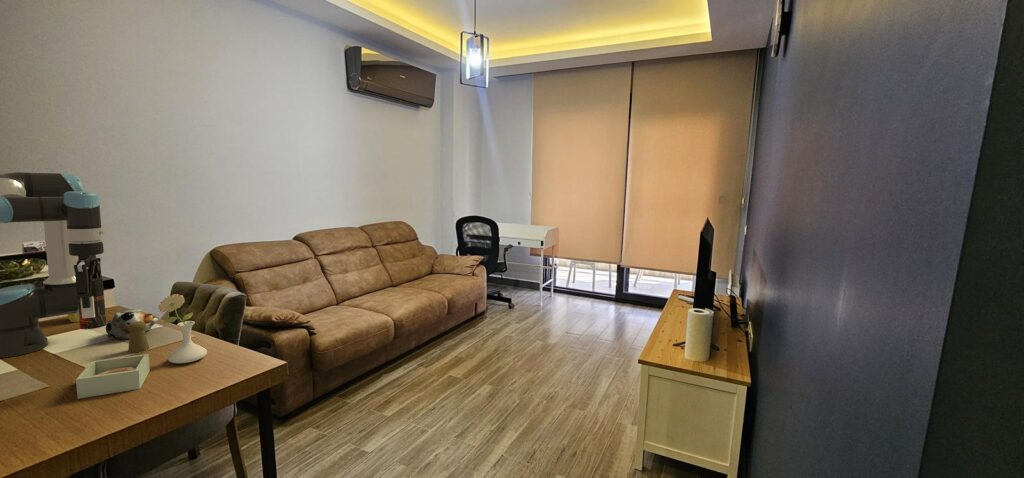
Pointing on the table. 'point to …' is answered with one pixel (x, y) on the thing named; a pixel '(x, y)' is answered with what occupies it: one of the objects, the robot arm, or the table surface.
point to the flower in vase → (187, 348)
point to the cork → (137, 337)
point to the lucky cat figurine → (128, 322)
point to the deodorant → (98, 306)
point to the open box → (113, 375)
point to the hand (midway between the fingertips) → (92, 314)
